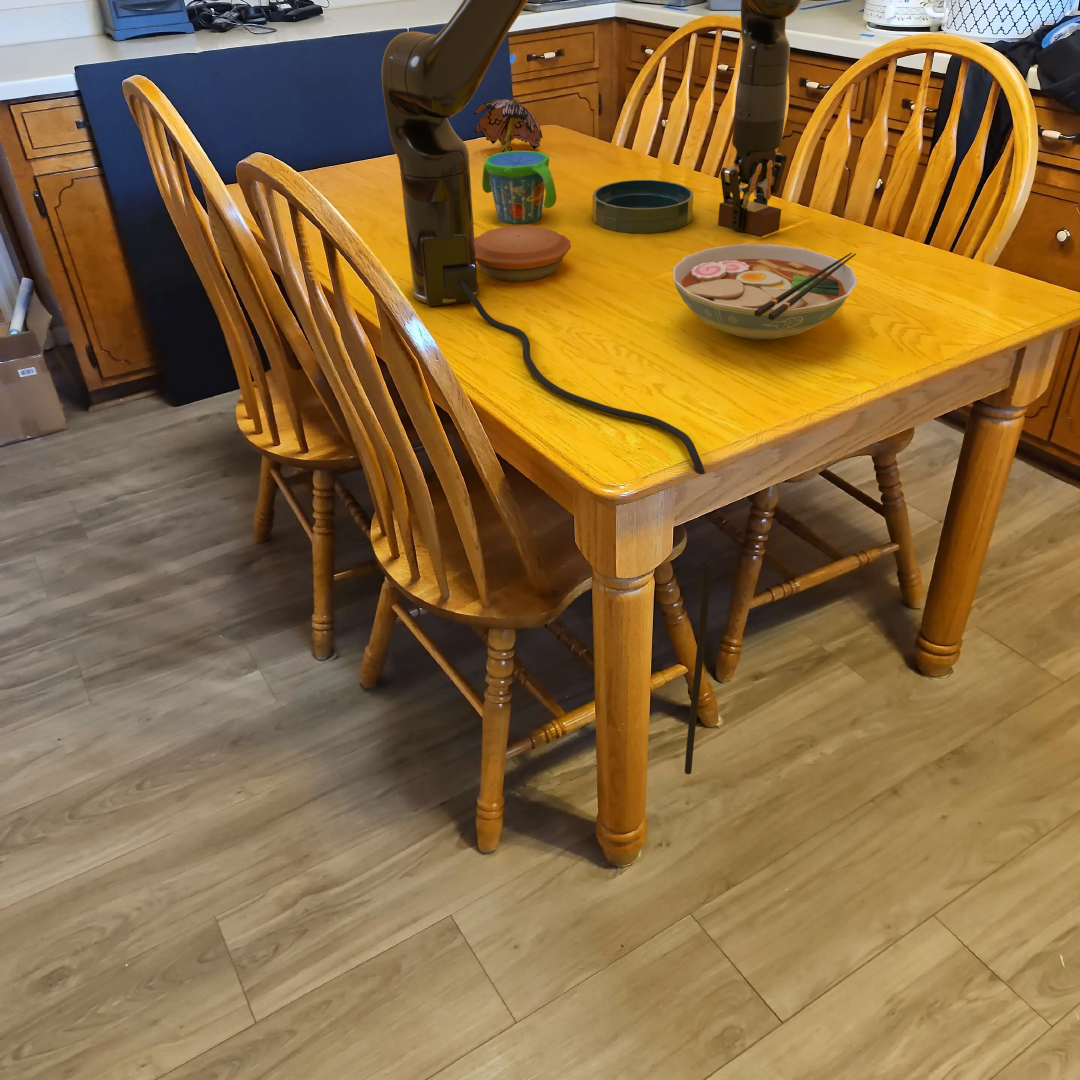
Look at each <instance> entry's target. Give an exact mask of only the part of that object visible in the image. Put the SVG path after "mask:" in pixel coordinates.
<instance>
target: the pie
mask: <svg viewBox="0 0 1080 1080" xmlns="http://www.w3.org/2000/svg"><path fill="white" fill-rule="evenodd" d="M474 240H475V254H476V264H478V266H479V268H480V269H481V270H482V272H483V273H484V274H485V275H486V276H488V277H490V278H491V279H494V280H498V281H502V282H510V283H511V282H512V283H513V282H516V283H517V282H518V283H519V282H520V283H521V282H523V283H524V282H532V281H537V280H541V279H544V278H547V277H550V276H551V275H552V274H554V273H555V272H556V271H557V269H558V268H559V266H560V264H561V263H562V261H563V259H564V257H566V254H567V253H568V252H569V251H570V249H571V248H572V243H571V240H570V239H569V238H568V237H567V236H565V235H563V234H560V233H558V232H557V231H555V230H553V229H551V228H547V227H544V226H537V225H508V226H507V225H506V226H501V227H496V228H493V229H490V230H487V231H485V232H483V233H481V234H480V235H479V236H476V237H474Z"/></svg>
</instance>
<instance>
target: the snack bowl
mask: <svg viewBox="0 0 1080 1080" xmlns="http://www.w3.org/2000/svg"><path fill="white" fill-rule="evenodd" d="M693 207H694V191H693V190H692V189H690V187H688V186H686V185H683V184H680V183H677V182H672V181H666V180H659V179H630V180H620V181H615V182H610V183H607V184H604V185H601V186H599V187H598V188H596V189H595V190H593V193H592V216H591V217H592V221H593V222H594V223H595V224H596V225H597V226H599V227H602V228H603V229H607V230H610V231H614V232H619V233H626V234H658V233H666V232H670V231H674V230H679V229H681V228H683V227H686V226H688V224H689V223H691V222H692V220H693Z"/></svg>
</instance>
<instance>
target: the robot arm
mask: <svg viewBox="0 0 1080 1080" xmlns="http://www.w3.org/2000/svg"><path fill="white" fill-rule="evenodd" d="M801 1H802V0H740V27H741V28H740V29H741V42H742V45H741V46H742V47H741V48H742V50H741V56H740V57H741V58H740V65H739V76H738V85H737V91H736V94H735V103H734V113H733V114H734V115H733V128H732V138H731V144H732V146H733V147H734V149H735V151H736V154H735V156H734V157H735V158H734V159H733V164H732V165H731V166H730V167H722V168H721V169H720V181H721V190H722V191H721V192H722V199H723V202H724V203H725V204H728V205H732V207H733V211H732V223H731V225H732V228H731V229H732V230H733V231H737V232H743V231H744V230H745V225H746V215H747V208H746V207H747V205H748V201H750V198H751V194H754V195H753V196H754V198H753V202H757V203H760V204H764V205H768V202H769V201H770V199H771V198H772V195H776V194H778V192H779V189H780V186H781V182H782V179H783V174H784V171H785V168H786V164H787V160H788V155H787V154H784V153H780V152H777V151H776V150H777V149H779V148H780V147H781V146H782V142H783V133H784V126H785V125H784V124H785V117H786V108H787V98H788V95H787V94H788V90H787V88H788V86H787V85H788V74H789V65H790V57H791V47H790V42H789V40H788V38H787V34H786V24H787V23H786V22H787V18H788V17H789V16H791V15H792V14H793V13H794V12H795V11H796V10H797V9H798V8H799V7H800V3H802V2H801ZM528 2H529V0H462V2H461V3H460V5H459V7H458V8H457V10H456V11H455V12H454V14H453V15H452V16H451V18H450V19H449V21H448V22H447V23H446V24H445V25H444V27H442V29H441V30H440V31H439V32H438V33H437V34H433V33H427V32H422V31H421V32H420V31H405V32H401V33H399V34H397V35H396V36H395V37H394V38H393V39H391V40H390V42H389V43H388V44H387V47H386V48H385V50H384V54H383V57H382V62H381V87H382V88H381V89H382V96H383V102H384V110H385V114H386V120H387V127H388V134H389V139H390V143H391V146H392V149H393V151H394V153H395V155H396V157H397V160H398V164H399V171H400V173H399V174H400V180H401V181H400V182H401V190H402V199H403V201H402V202H403V208H404V209H403V210H404V218H405V227H406V238H407V245H408V253H409V263H410V264H409V265H410V269H411V280H412V295H413V297H414V299H416V300H417V301H419V302H421V303H425V304H426V306H427V307H435V306H447V305H457V304H466V303H472V304H473V306H474V307H475V309H476V310H477V313H478V314H479V315H480V316H481V318H482V319H483V320H484V321H486V322H487V323H488V324H489V325H490V326H492V327H494V328H496V329H497V330H501V331H504V332H508V333H511V334H513V335H515V336H517V337H518V338H519V339H520V340H521V342H522V357H523V360H524V363H525V365H526V367H527V368H528V370H529V372H530V374H531V375H532V376H533V377H534V379H536V381H537V382H538V383H540V384H541V385H542V387H545V388H546V389H547V390H549V391H551V392H552V393H553V394H555V395H556V396H559V397H561V398H563V399H565V400H567V401H570V402H572V403H574V404H577V405H580V406H583V407H585V408H589V409H592V410H594V411H598V412H600V413H603V414H606V415H610V416H614V417H617V418H622V419H625V420H626V419H627V420H631V421H636V422H640V423H644V424H647V425H651V426H653V427H656V428H658V429H661V430H662V431H664V432H667V433H668V434H670V435H672V436H673V437H675V438H677V439H678V440H679V441H680V442H681V443H682V444H683V446H684V447H685V448H686V450H687V453H688V455H689V457H690V460H691V462H692V464H693V467H694V470H695V472H696V474H698V475H705V474H706V471H705V468H704V465H703V462H702V459H701V458H700V455H699V453H698V451H697V448H696V446H695V443H694V442H693V440H692V439H691V438H690V436H689V435H688V434H687V433H685V432H684V431H682V430H681V429H679V428H677V427H675V426H674V425H671V424H670V423H669V422H667V421H665V420H662V419H659V418H657V417H655V416H651V415H648V414H644V413H640V412H636V411H635V412H634V411H630V410H626V409H622V408H621V409H620V408H616V407H613V406H609V405H606V404H603V403H600V402H597V401H595V400H591V399H588V398H585V397H582V396H579V395H577V394H574V393H572V392H570V391H568V390H565V389H563V388H561V387H560V386H557V385H556V384H554V383H553V382H551V381H550V380H549V379H547V377H545V376H544V375H543V374H542V373H541V372H540V370H539V369H538V367H537V366H536V364H535V362H534V361H533V359H532V357H531V342H530V339H529V337H528V335H527V334H526V333H525V332H524V331H523V330H521V329H520V328H518V327H515V326H513V325H510V324H506V323H503V322H500V321H498V320H496V319H495V318H493V317H492V316H491V315H490V314H488V312H487V311H486V309H485V308H484V307H483V305H482V303H481V302H480V300H479V299H478V298H477V295H478V294H479V292H480V288H479V286H480V285H479V281H478V268H477V261H476V254H475V240H474V238H475V228H474V215H473V212H474V211H473V199H472V185H471V172H470V171H471V168H470V156H469V155H470V153H469V149H468V146H467V144H466V143H465V142H464V141H463V139H462V138H460V136H459V135H458V134H457V133H456V131H455V130H454V128H453V127H452V125H451V122H450V121H449V118H451V117H454V116H456V115H457V114H459V113H460V112H461V111H463V110H464V109H465V107H467V105H468V104H469V103H470V102H471V100H472V98H473V97H474V95H475V94H476V92H477V90H478V89H479V86H480V84H481V82H482V81H483V79H484V77H485V75H486V73H487V71H488V69H489V67H490V65H491V63H492V61H493V59H495V56H496V54H497V52H498V50H499V48H500V46H501V45H502V43H503V41H504V39H505V38H506V36H507V34H508V33H509V31H510V30H511V28H512V27H513V25H514V23H515V22H516V20H517V19H518V17H520V14H521V13H522V11H523V9H524V8H525V6H526V5H527V3H528ZM773 178H774V179H773ZM742 184H744V185H742ZM745 185H747V186H745ZM741 192H742V197H741ZM731 195H732V196H731ZM740 198H741V199H740ZM710 588H711V567H710V566H708V565H706V564H704V563H702V567H701V592H700V609H699V621H698V633H697V641H696V653H695V661H694V662H695V663H694V671H693V680H692V690H691V700H690V707H689V717H688V727H687V738H686V749H685V762H684V763H685V764H684V774H686V775H691V774H692V768H693V757H694V747H695V735H696V727H697V718H698V711H699V710H698V708H699V701H700V692H701V683H702V674H703V665H704V658H705V657H704V656H705V648H706V640H707V639H706V637H707V628H708V618H709V604H710Z"/></svg>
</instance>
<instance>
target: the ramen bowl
mask: <svg viewBox="0 0 1080 1080" xmlns="http://www.w3.org/2000/svg"><path fill="white" fill-rule="evenodd" d="M856 255H857V253H853V252H850V253H848V254H846V255H845V256H843V257H841V258H840V259H837V258H836V257H833V256H830V255H826V254H824V253H820V252H818V251H814V250H810V249H808V248H802V247H795V246H788V245H787V246H786V245H781V244H780V245H779V244H767V243H766V244H765V243H763V244H762V243H760V244H759V243H757V244H752V243H750V244H749V243H747V244H746V243H737V244H729V245H725V246H717V247H709V248H706V249H703V250H700V251H697V252H694V253H692V254H689V255H685V256H684V257H683V258H682V259H680V261H679V262H678V263H676V264H675V265H674V266H673V267H672V279H673V280H672V281H673V284H674V285H675V288H676V290H677V292H678V294H679V296H680V297H681V299H682V300H683V303H684V304H685V305H686V306H687V307H688V309H689V310H690V311H691V312H692V313H693V314H694V315H695V316H696V317H698V318H699V319H700V320H701V321H702V322H704V323H705V324H706V325H708V326H709V327H711V328H714V329H716V330H718V331H721V332H723V333H726V334H729V335H732V336H736V337H739V338H742V339H745V340H750V341H770V340H777V339H781V338H786V337H791V336H797V335H800V334H803V333H805V332H807V331H809V330H811V329H814V328H816V327H818V326H820V325H823V324H824V323H826V322H827V321H828V320H829V319H831V317H832V316H834V315H835V314H836V313H837V312H838V310H839V309H840V308H841V307H842V306H843V305H844V303H845V301H846V300H847V299H848V297H849V296H850V295H851V294H852V292H853V290H854V289H855V287H856V285H857V284H858V279H857V277H856V275H855V272H854V270H853V268H852V267H850V266H849V265H847V264H846V263H847V262H849V261H850V260H851V259H853V258H854V257H856Z"/></svg>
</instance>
